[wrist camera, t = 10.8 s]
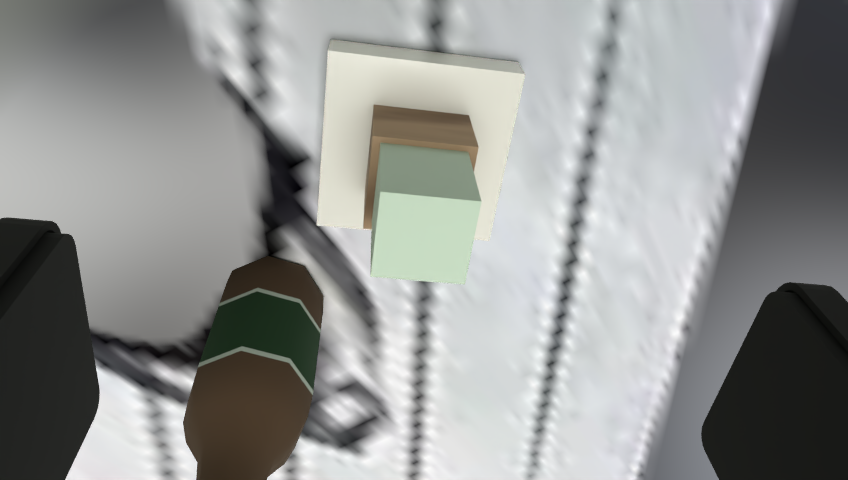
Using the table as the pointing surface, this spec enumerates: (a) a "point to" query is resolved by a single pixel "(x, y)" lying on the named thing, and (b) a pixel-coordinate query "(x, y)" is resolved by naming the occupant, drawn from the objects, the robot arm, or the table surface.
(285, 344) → the beer bottle
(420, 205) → the sage block
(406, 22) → the table surface
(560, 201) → the table surface
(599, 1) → the table surface
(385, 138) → the walnut block
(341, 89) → the base slab
